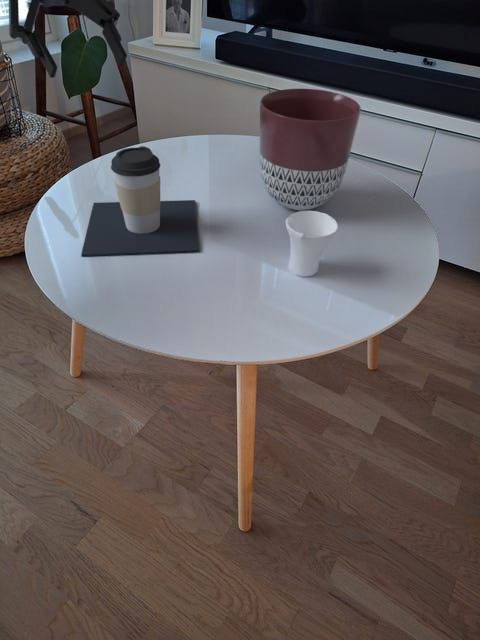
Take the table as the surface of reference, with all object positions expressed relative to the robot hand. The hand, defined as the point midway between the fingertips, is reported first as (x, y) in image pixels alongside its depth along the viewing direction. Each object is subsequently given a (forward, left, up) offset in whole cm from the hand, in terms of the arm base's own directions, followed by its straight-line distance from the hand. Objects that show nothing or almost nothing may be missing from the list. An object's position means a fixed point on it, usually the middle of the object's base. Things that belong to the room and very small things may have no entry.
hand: (90, 66), depth 81 cm
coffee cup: (+7, -8, -27) cm, 29 cm away
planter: (+41, 0, -28) cm, 49 cm away
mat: (+7, -8, -28) cm, 30 cm away
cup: (+37, -25, -28) cm, 52 cm away
